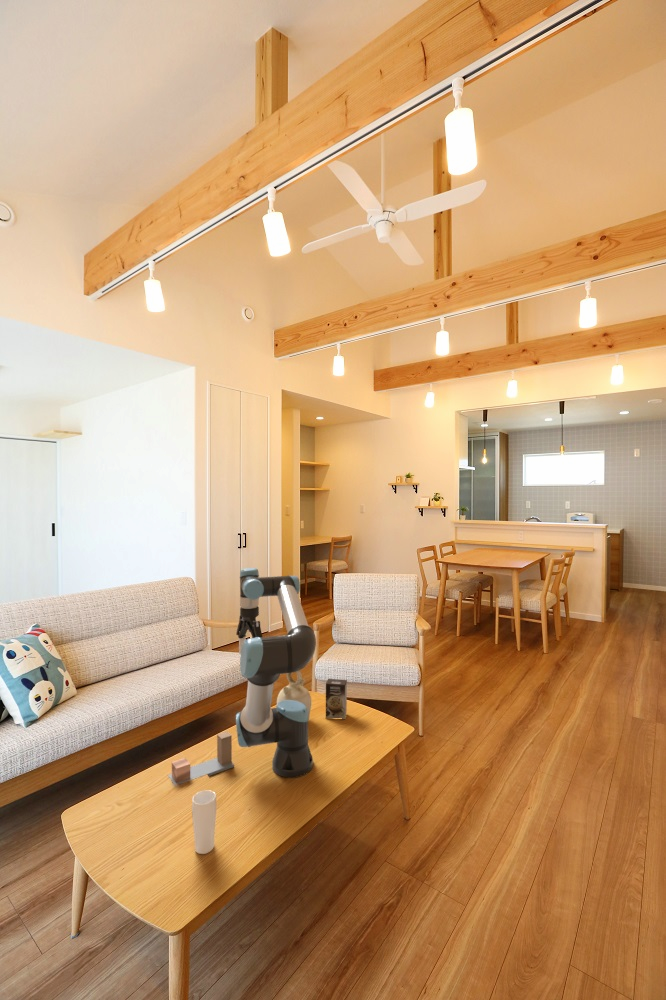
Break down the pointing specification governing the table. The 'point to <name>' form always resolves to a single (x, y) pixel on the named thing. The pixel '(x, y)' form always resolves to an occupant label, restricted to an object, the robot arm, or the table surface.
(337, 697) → the coffee box
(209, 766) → the strip
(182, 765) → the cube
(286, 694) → the jug
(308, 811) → the table surface
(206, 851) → the drinking glass
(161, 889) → the table surface
